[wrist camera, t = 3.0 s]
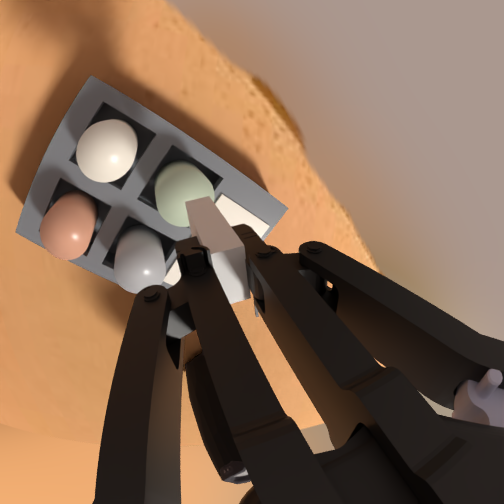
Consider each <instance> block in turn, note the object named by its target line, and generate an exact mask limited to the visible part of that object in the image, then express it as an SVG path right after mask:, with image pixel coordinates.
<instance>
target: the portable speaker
mask: <svg viewBox="0 0 504 504" xmlns="http://www.w3.org/2000/svg"><path fill="white" fill-rule="evenodd" d="M185 367H186V377H187V384H188V392H189V398H190V402H191V405H192V409H193V412H194V415H195V418H196V422H197V425H198V428H199V431H200V434H201V437H202V440H203V443H204V446H205V448H206V450H207V452H208V454H209V456H210V458H211V460H212V462H213V464H214V466H215V468H216V470H217V472H218V474H219V476H220V477H221V479H222V480H223V481H225V482H231V483H235V484H241V483H247V482H250V481H251V480H250V477H249V475H248V473H247V470H246V468H245V466H244V464H243V461H242V459H241V456H240V454H239V452H238V449H237V447H236V444H235V441H234V439H233V435H232V433H231V430H230V427H229V425H228V422H227V420H226V417H225V414H224V412H223V409H222V406H221V403H220V401H219V398H218V395H217V392H216V389H215V386H214V384H213V381H212V378H211V375H210V372H209V369H208V366H207V363H206V359H205V356H204V353H203V351H202V353H201V354H200V355H199V356H197V357H195V358H194V359H192V361H191V362H188V363H186V364H185Z"/></svg>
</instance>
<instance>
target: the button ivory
mask: <svg viewBox="0 0 504 504" xmlns="http://www.w3.org/2000/svg"><path fill="white" fill-rule="evenodd" d="M137 147H138V137H137V134H136V131H135V130H134V128H133V127H132V126H131V125H130V124H129V123H128V122H126V121H124V120H120V119H110V120H105V121H100V122H98V123H95V124H93V125H92V126H90V127H89V128H88V129H87V130H86V131H85V132H84V133H83V134H82V136H81V138H80V140H79V142H78V145H77V150H76V158H77V163H78V166H79V168H80V169H81V171H82V172H83V173H84V175H86V176H87V177H88V178H89V179H91V180H93V181H96V182H104V183H105V182H111V181H114V180H117V179H119V178H120V177H122V176H123V175H124V174H126V172H127V171H128V170H129V169H130V167H131V166H132V164H133V162H134V159H135V155H136V151H137Z"/></svg>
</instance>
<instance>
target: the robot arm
mask: <svg viewBox="0 0 504 504" xmlns="http://www.w3.org/2000/svg"><path fill="white" fill-rule="evenodd" d="M185 205H186V210H187V215H188V220H189V225H190V229H191V234H192V237H190V238H187V239H183V240H179V241H177V243H176V245H175V250H176V254H177V262H178V265H179V269H180V273H181V277H180V280H179V281H178V282H177V283H176V284H175V285H173V286H172V287H170V288H168V289H166V288H165V287H164V286H162V285H151V286H147V287H145V288H143V289H142V290H141V291H139V292H138V294H137V295H136V297H135V300H134V303H133V307H132V310H131V313H130V316H129V320H128V323H127V327H126V330H125V334H124V337H123V341H122V345H121V349H120V352H119V356H118V360H117V364H116V368H115V373H114V377H113V381H112V386H111V390H110V395H109V400H108V405H107V410H106V415H105V421H104V426H103V432H102V439H101V446H100V452H99V461H98V469H97V478H96V489H95V499H94V501H93V503H92V504H181V481H180V428H181V396H182V375H183V358H184V344H185V339H184V336H185V335H187V334H189V333H191V332H192V331H194V330H197V334H198V337H199V340H200V344H201V347H202V350H203V353H204V356H205V359H206V363H207V366H208V369H209V372H210V375H211V378H212V381H213V384H214V386H215V389H216V392H217V395H218V398H219V401H220V403H221V406H222V409H223V412H224V414H225V417H226V420H227V422H228V425H229V427H230V430H231V433H232V435H233V439H234V441H235V444H236V447H237V449H238V452H239V454H240V456H241V459H242V461H243V464H244V466H245V468H246V470H247V473H248V475H249V477H250V480H251V482H252V484H253V487H252V488H251V489H250V490H249V491H248V492H247V493H246V494H245V496H244V497H243V498H242V499H241V501H240V503H239V504H504V341H501V340H497V339H494V338H491V337H488V336H485V335H481V334H479V333H478V332H476V331H475V330H473V329H471V328H470V327H468V326H467V325H465V324H463V323H462V322H460V321H459V320H457V319H455V318H453V317H452V316H451V315H449V314H447V313H446V312H444V311H442V310H441V309H439V308H437V307H436V306H434V305H432V304H431V303H429V302H428V301H426V300H424V299H423V298H421V297H419V296H418V295H416V294H414V293H412V292H411V291H409V290H407V289H406V288H404V287H402V286H400V285H399V284H397V283H395V282H393V281H392V280H390V279H388V278H387V277H385V276H383V275H381V274H379V273H378V272H376V271H374V270H372V269H371V268H369V267H367V266H365V265H363V264H362V263H360V262H358V261H356V260H354V259H352V258H351V257H349V256H347V255H345V254H343V253H341V252H340V251H338V250H336V249H334V248H332V247H330V246H328V245H327V244H324V243H322V242H317V241H309V242H306V243H303V244H302V245H300V247H299V253H290V254H283V253H282V252H281V251H280V250H279V249H278V248H276V247H274V246H271V245H266V244H265V242H264V241H263V240H262V239H261V238H260V237H259V235H258V234H257V233H256V232H255V231H254V230H253V228H252V227H251V226H248V225H246V224H240V225H236V226H230V225H229V223H228V222H227V220H226V219H225V218H224V216H223V215H222V213H221V212H220V210H219V209H218V208H217V206H216V205H215V203H214V202H213V201H212V199H211V198H210V196H207V197H203V198H199V199H194V200H190V201H186V202H185ZM327 281H329V282H330V283H332V284H333V287H332V288H330V287H328V286H327ZM250 290H251V292H252V294H253V298H254V306H255V314H256V317H259V316H258V312H259V313H260V315H261V317H262V318H263V320H264V322H265V324H266V325H267V327H268V329H269V331H270V332H271V334H272V336H273V337H274V339H275V341H276V343H277V344H278V346H279V348H280V349H281V351H282V353H283V355H284V356H285V358H286V360H287V361H288V363H289V365H290V366H291V368H292V370H293V371H294V373H295V375H296V376H297V378H298V380H299V381H300V383H301V385H302V386H303V388H304V390H305V391H306V393H307V395H308V396H309V398H310V400H311V401H312V403H313V405H314V406H315V408H316V410H317V411H318V413H319V414H320V416H321V418H322V419H323V421H324V423H325V424H326V426H327V428H328V431H329V435H330V440H331V442H332V444H333V446H334V448H335V450H331V451H327V452H323V453H318V454H313V452H312V450H311V449H310V447H309V445H308V443H307V442H306V440H305V438H304V437H303V435H302V433H301V431H300V429H299V428H298V426H297V424H296V423H295V421H294V420H293V419H292V418H291V417H289V416H287V415H286V414H285V412H284V410H283V409H282V407H281V405H280V403H279V401H278V399H277V397H276V395H275V393H274V391H273V390H272V388H271V386H270V384H269V382H268V380H267V378H266V376H265V374H264V372H263V370H262V368H261V366H260V364H259V362H258V360H257V358H256V356H255V354H254V352H253V350H252V348H251V346H250V344H249V342H248V340H247V338H246V336H245V334H244V332H243V330H242V328H241V326H240V324H239V321H238V319H237V317H236V315H235V313H234V311H233V309H232V307H231V305H230V304H232V303H236V302H239V301H242V300H246V299H249V298H251V296H250ZM374 358H375V359H376V360H377V361H379V362H380V363H381V364H383V365H384V366H385V368H384V367H382V366H380V365H379V364H378V363H377V361H376V360H375V359H374ZM417 390H418V391H419V392H421V393H422V394H423V395H424V396H426V397H427V398H429V399H431V400H432V401H434V402H436V403H438V404H440V405H442V406H444V407H446V408H449V409H452V410H454V411H453V413H452V418H451V417H446V416H442V415H438V414H437V413H436V412H435V411H434V410H433V408H432V407H431V406H430V405H429V404H428V403H427V401H426V400H425V399H424V398H423V396H422V395H421V394H420V393H419V392H418V391H417Z"/></svg>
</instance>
